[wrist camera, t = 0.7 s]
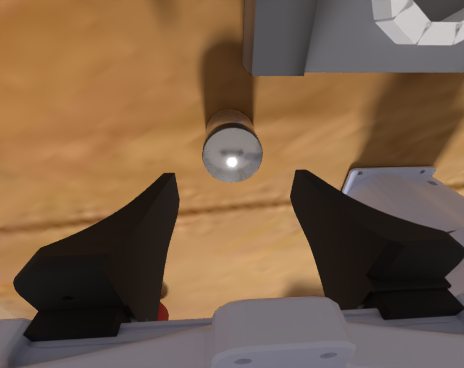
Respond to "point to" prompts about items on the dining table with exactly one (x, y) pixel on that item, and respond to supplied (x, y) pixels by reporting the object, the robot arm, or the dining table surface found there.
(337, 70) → the camera body
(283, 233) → the dining table surface
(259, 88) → the dining table surface
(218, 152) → the lens
